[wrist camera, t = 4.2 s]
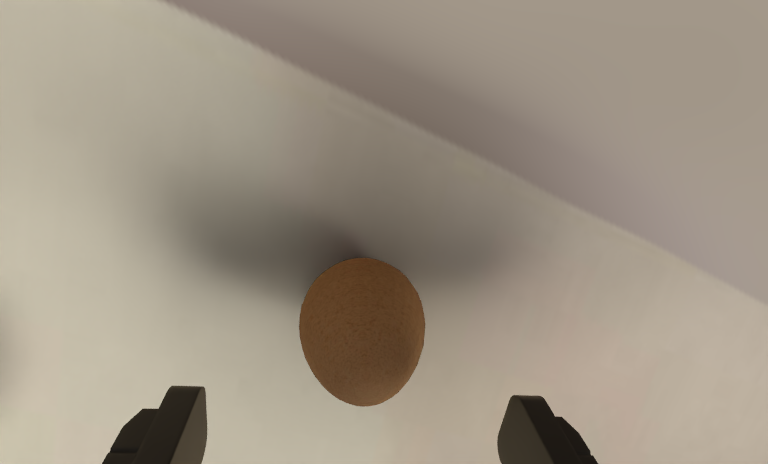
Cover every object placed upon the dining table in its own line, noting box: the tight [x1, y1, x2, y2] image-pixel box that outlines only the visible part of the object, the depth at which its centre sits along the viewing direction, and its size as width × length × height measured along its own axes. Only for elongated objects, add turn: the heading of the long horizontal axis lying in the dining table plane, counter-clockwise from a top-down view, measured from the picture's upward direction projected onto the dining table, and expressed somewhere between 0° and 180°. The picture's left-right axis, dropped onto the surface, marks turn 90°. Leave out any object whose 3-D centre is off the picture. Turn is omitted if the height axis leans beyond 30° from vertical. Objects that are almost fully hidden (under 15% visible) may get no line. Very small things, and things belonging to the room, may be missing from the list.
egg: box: [299, 258, 425, 406], centre depth 15 cm, size 4×4×6 cm
